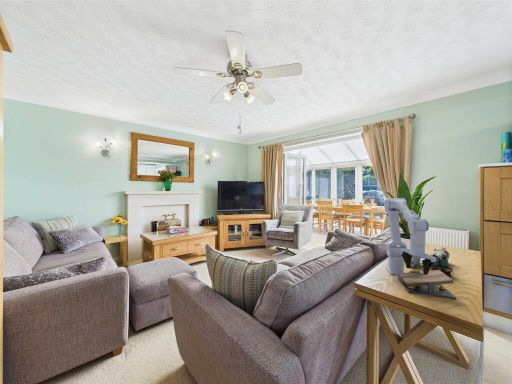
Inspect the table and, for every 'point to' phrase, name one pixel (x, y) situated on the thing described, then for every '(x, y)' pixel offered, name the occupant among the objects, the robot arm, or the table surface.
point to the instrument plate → (425, 278)
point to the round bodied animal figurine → (415, 261)
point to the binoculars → (442, 265)
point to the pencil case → (440, 253)
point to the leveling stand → (429, 290)
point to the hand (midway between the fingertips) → (416, 271)
